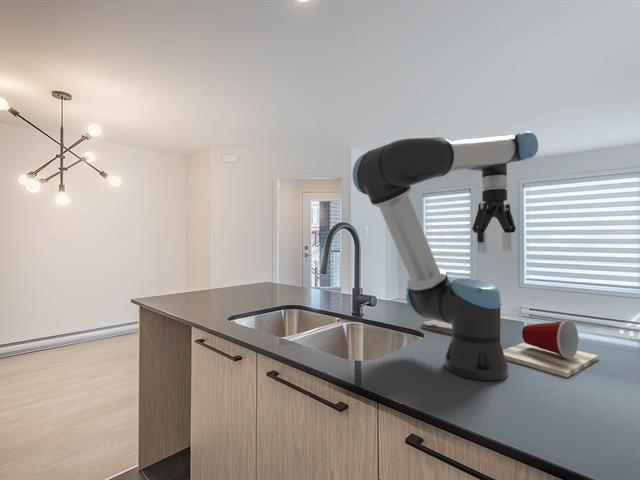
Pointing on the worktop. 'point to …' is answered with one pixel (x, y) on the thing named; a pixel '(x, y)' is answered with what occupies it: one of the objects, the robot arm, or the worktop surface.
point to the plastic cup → (553, 337)
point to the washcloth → (438, 326)
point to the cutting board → (548, 359)
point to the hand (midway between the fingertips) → (494, 252)
